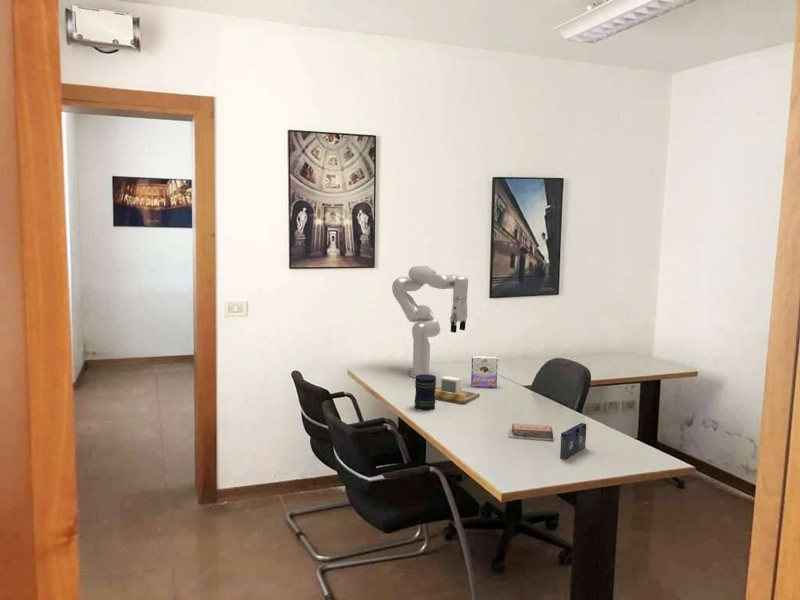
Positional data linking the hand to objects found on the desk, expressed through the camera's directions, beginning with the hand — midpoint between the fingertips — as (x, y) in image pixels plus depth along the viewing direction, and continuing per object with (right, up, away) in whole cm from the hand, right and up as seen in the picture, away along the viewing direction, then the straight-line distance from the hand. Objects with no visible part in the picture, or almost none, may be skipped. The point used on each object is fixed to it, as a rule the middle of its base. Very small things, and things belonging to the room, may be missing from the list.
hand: (457, 331), depth 349 cm
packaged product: (+23, -41, -79) cm, 92 cm away
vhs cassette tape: (+36, -43, -99) cm, 113 cm away
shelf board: (-6, -32, -21) cm, 39 cm away
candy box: (+14, -30, +2) cm, 34 cm away
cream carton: (-5, -31, -21) cm, 37 cm away
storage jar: (-19, -35, -41) cm, 57 cm away
